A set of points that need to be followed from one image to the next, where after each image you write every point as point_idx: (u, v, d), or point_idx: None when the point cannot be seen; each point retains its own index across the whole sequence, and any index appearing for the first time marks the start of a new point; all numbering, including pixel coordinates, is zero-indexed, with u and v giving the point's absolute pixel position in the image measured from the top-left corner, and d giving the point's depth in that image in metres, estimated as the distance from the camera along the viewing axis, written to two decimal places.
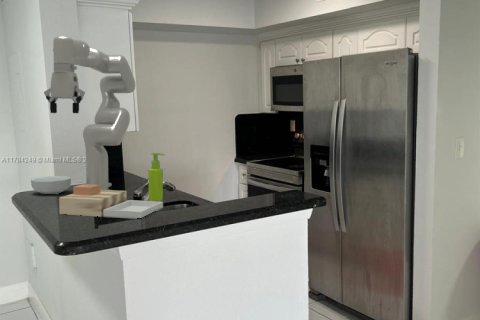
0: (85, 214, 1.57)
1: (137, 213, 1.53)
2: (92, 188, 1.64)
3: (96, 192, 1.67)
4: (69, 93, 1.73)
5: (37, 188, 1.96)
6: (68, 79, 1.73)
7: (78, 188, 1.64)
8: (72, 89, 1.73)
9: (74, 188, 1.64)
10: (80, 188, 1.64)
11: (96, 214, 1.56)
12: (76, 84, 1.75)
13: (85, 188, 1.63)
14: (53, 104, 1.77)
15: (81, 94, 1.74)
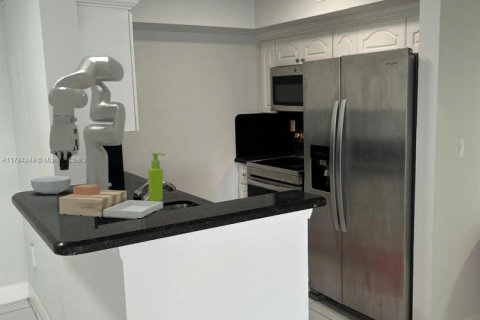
0: (85, 214, 1.57)
1: (137, 213, 1.53)
2: (92, 188, 1.64)
3: (96, 192, 1.67)
4: (69, 146, 1.65)
5: (37, 188, 1.96)
6: (68, 132, 1.64)
7: (78, 188, 1.64)
8: (72, 142, 1.64)
9: (74, 188, 1.64)
10: (80, 188, 1.64)
11: (96, 214, 1.56)
12: (76, 136, 1.67)
13: (85, 188, 1.63)
14: None
15: (73, 153, 1.66)
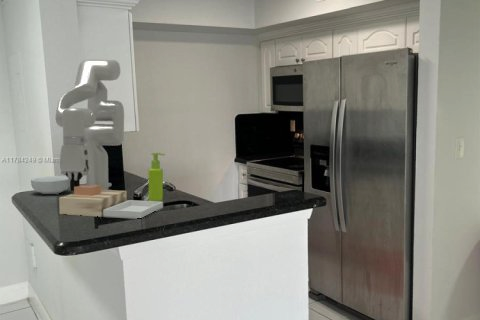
0: (85, 214, 1.57)
1: (137, 213, 1.53)
2: (93, 188, 1.64)
3: (97, 192, 1.67)
4: (80, 168, 1.65)
5: (37, 188, 1.96)
6: (78, 153, 1.64)
7: (79, 188, 1.64)
8: (83, 163, 1.65)
9: (75, 188, 1.64)
10: (81, 188, 1.64)
11: (96, 214, 1.56)
12: (87, 157, 1.67)
13: (86, 188, 1.63)
14: None
15: (83, 174, 1.66)
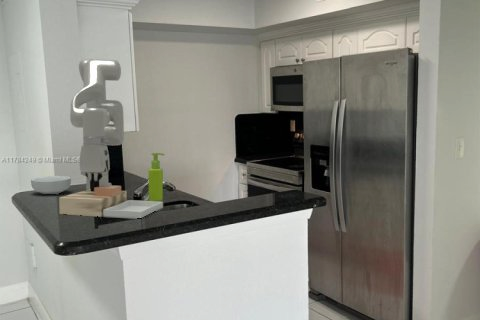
0: (85, 214, 1.57)
1: (137, 213, 1.53)
2: (113, 189, 1.62)
3: (117, 193, 1.65)
4: (100, 168, 1.63)
5: (37, 188, 1.96)
6: (99, 153, 1.62)
7: (99, 189, 1.62)
8: (103, 164, 1.63)
9: (95, 189, 1.63)
10: (101, 189, 1.62)
11: (96, 214, 1.56)
12: (107, 158, 1.65)
13: (106, 189, 1.62)
14: None
15: (103, 174, 1.65)
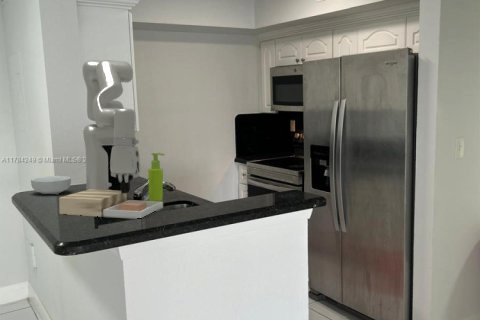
0: (85, 214, 1.57)
1: (137, 213, 1.53)
2: None
3: None
4: (131, 169, 1.61)
5: (37, 188, 1.96)
6: (130, 155, 1.60)
7: None
8: (134, 165, 1.60)
9: None
10: None
11: (96, 214, 1.56)
12: (138, 159, 1.63)
13: None
14: None
15: (134, 176, 1.62)
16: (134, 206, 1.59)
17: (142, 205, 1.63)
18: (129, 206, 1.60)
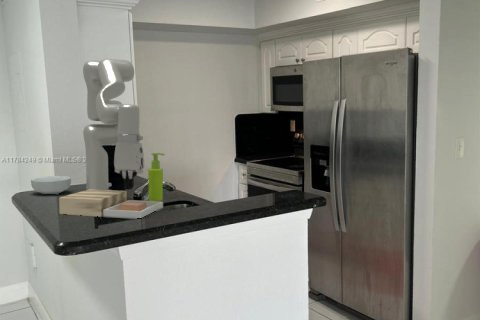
0: (85, 214, 1.57)
1: (137, 213, 1.53)
2: None
3: None
4: (135, 166, 1.61)
5: (37, 188, 1.96)
6: (134, 151, 1.60)
7: None
8: (138, 162, 1.60)
9: None
10: None
11: (96, 214, 1.56)
12: (142, 155, 1.62)
13: None
14: None
15: (138, 172, 1.62)
16: (134, 206, 1.59)
17: (142, 205, 1.63)
18: (129, 206, 1.60)
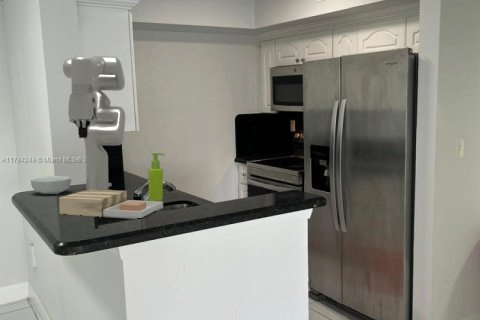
0: (85, 214, 1.57)
1: (137, 213, 1.53)
2: None
3: None
4: (88, 115, 1.71)
5: (37, 188, 1.96)
6: (87, 101, 1.70)
7: None
8: (91, 111, 1.71)
9: None
10: None
11: (96, 214, 1.56)
12: (95, 105, 1.73)
13: None
14: None
15: (91, 121, 1.73)
16: (134, 206, 1.59)
17: (142, 205, 1.63)
18: (129, 206, 1.60)
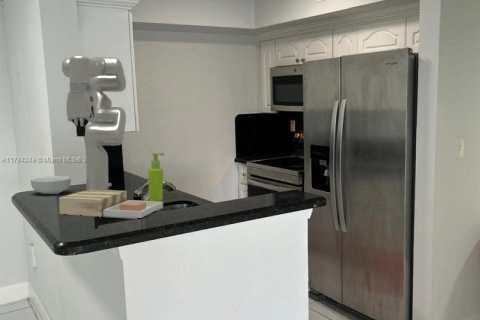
0: (85, 214, 1.57)
1: (137, 213, 1.53)
2: None
3: None
4: (86, 113, 1.71)
5: (37, 188, 1.96)
6: (84, 99, 1.71)
7: None
8: (89, 109, 1.71)
9: None
10: None
11: (96, 214, 1.56)
12: (92, 104, 1.73)
13: None
14: None
15: (89, 120, 1.73)
16: (134, 206, 1.59)
17: (142, 205, 1.63)
18: (129, 206, 1.60)
